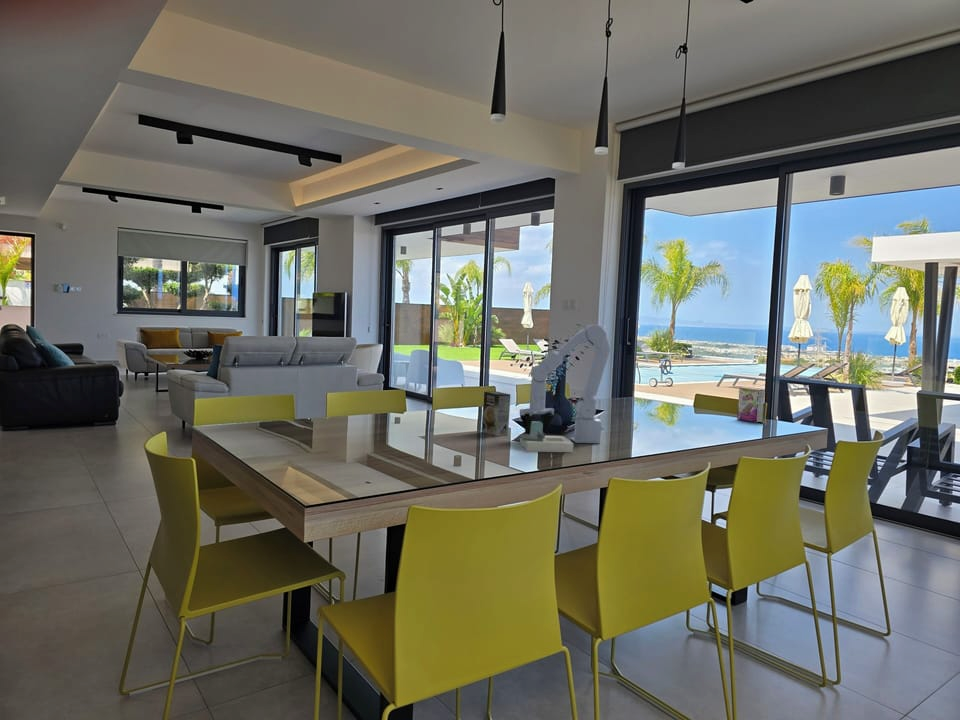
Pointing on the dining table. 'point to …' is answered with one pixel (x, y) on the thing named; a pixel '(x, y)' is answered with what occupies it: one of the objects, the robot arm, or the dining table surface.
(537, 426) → the plug
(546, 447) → the socket plate
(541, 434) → the shutter
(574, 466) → the dining table surface
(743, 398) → the candy bar box
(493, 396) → the coffee box
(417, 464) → the dining table surface
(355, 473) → the dining table surface
